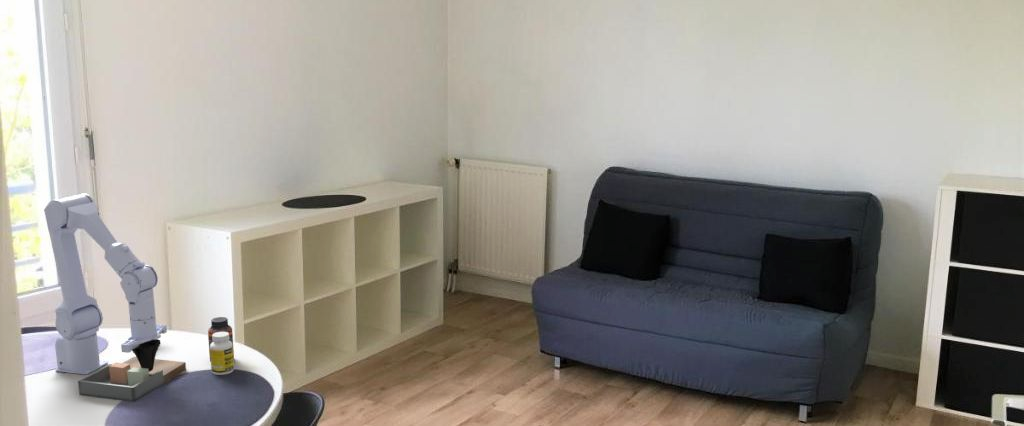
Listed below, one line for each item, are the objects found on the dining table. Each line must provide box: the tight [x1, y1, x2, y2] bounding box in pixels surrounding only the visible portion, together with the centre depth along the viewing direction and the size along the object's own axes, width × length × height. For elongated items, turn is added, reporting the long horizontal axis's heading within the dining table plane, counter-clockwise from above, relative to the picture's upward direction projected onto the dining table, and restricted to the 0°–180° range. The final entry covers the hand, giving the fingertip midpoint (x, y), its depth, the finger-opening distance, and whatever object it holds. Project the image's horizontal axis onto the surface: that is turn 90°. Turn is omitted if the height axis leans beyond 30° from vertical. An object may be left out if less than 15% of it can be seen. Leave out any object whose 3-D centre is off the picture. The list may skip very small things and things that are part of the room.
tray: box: [77, 363, 165, 403], centre depth 221 cm, size 15×11×4 cm
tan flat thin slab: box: [122, 356, 187, 384], centre depth 230 cm, size 15×9×2 cm, turn 75°
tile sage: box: [127, 367, 149, 386], centre depth 222 cm, size 4×4×2 cm
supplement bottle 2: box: [209, 332, 235, 376], centre depth 231 cm, size 5×5×10 cm
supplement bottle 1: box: [207, 316, 235, 363], centre depth 237 cm, size 6×6×11 cm
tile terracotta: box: [109, 362, 131, 383], centre depth 225 cm, size 4×4×2 cm
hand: (147, 370), depth 225 cm, fingers closed
